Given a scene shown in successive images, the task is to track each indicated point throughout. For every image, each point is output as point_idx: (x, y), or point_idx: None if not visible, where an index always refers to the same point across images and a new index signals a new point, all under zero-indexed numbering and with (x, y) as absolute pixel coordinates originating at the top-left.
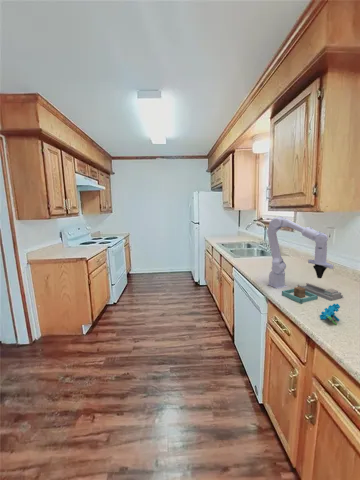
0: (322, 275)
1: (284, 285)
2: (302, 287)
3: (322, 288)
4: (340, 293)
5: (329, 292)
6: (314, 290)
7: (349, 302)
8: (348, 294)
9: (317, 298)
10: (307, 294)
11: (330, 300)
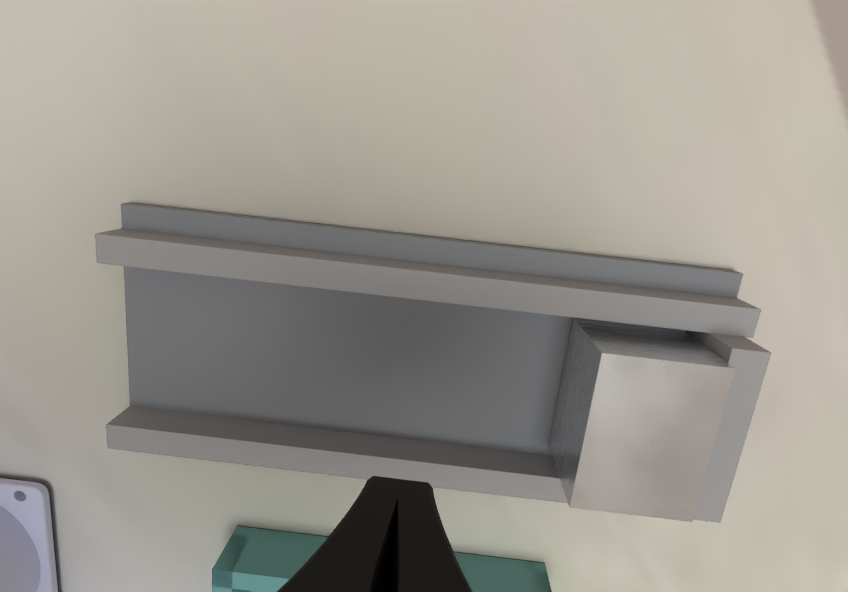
0: (441, 528)
1: (13, 537)
2: (206, 453)
3: (404, 278)
4: (761, 366)
5: (659, 512)
6: (335, 347)
7: (835, 333)
8: (704, 24)
9: (548, 580)
10: None
11: None
